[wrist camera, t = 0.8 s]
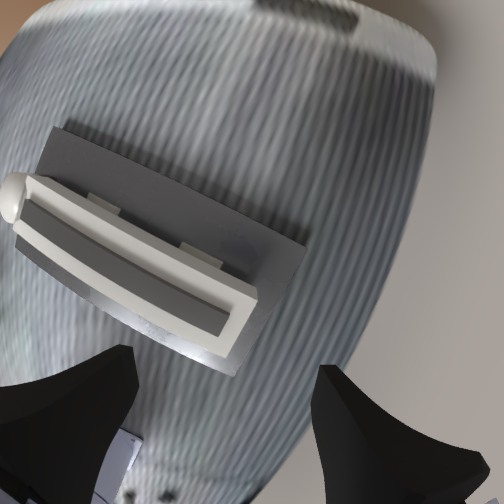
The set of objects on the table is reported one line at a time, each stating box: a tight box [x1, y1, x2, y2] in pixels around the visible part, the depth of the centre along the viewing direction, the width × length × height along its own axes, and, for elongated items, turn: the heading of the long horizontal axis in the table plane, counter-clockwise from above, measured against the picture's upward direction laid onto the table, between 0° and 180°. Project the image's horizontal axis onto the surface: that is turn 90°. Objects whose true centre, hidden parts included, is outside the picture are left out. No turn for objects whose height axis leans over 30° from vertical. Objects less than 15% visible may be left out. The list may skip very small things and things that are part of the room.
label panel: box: [15, 126, 308, 377], centre depth 18 cm, size 22×11×2 cm, turn 63°
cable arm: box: [0, 172, 258, 358], centre depth 15 cm, size 20×4×3 cm, turn 63°
